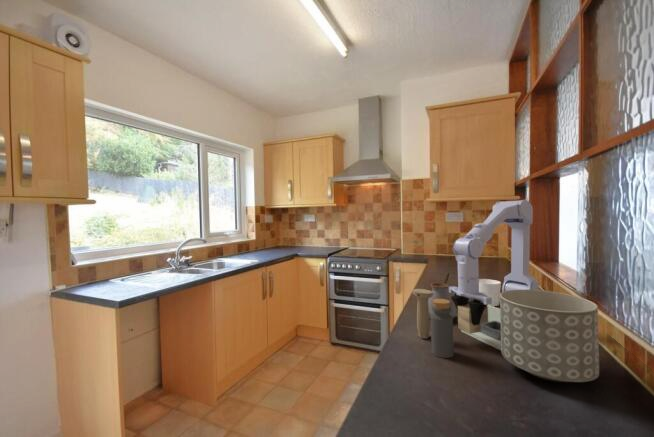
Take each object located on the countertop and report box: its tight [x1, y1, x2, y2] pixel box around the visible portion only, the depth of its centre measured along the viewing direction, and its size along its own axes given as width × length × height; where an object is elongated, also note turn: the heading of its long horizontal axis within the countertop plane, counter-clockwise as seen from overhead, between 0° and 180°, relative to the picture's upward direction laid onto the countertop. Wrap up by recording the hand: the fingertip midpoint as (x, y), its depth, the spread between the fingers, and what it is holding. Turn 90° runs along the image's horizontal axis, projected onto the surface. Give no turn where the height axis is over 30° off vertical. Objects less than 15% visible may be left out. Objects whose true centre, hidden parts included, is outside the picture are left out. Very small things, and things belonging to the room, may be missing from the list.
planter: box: [499, 289, 600, 383], centre depth 70 cm, size 19×19×18 cm
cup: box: [479, 278, 502, 307], centre depth 125 cm, size 10×10×10 cm
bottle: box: [430, 299, 455, 359], centre depth 81 cm, size 6×6×15 cm
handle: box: [411, 288, 433, 340], centre depth 92 cm, size 5×6×15 cm
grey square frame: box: [480, 320, 501, 341], centre depth 91 cm, size 9×8×2 cm
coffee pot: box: [428, 272, 458, 320], centre depth 113 cm, size 21×12×15 cm, turn 144°
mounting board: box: [460, 306, 501, 351], centre depth 91 cm, size 13×16×7 cm
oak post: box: [457, 304, 482, 334], centre depth 87 cm, size 4×4×7 cm
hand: (469, 321), depth 87 cm, fingers closed on oak post, 4 cm apart
